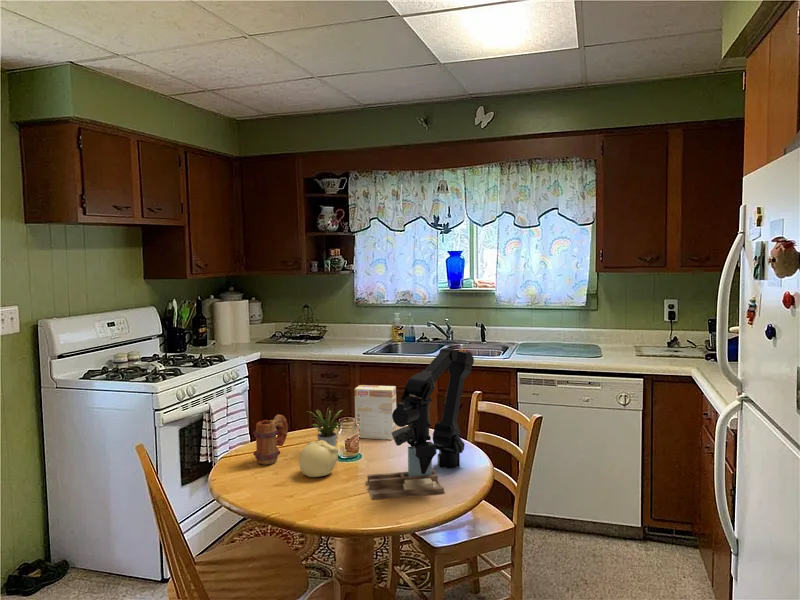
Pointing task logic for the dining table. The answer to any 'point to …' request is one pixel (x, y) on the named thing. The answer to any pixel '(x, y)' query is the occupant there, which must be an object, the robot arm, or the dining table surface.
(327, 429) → the house plant
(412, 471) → the light blue block
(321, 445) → the sculpture
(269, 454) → the mug
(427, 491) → the rack
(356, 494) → the dining table surface
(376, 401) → the coffeecake box
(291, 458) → the dining table surface
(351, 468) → the dining table surface
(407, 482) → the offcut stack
